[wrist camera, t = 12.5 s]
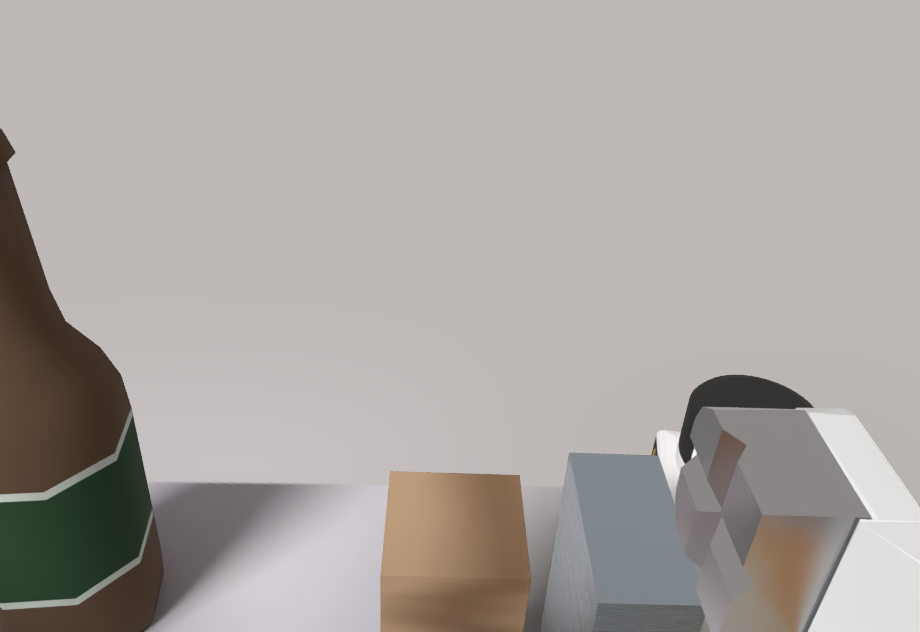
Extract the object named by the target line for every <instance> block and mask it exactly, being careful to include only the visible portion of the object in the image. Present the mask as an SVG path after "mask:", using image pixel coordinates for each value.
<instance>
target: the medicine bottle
mask: <svg viewBox="0 0 920 632" xmlns="http://www.w3.org/2000/svg"><path fill="white" fill-rule="evenodd" d="M702 407H732V408H769V409H796V408H814V407H813V406H812V405H811V404H810V403H809V402H808V401H807V400H805V399H804V398H803V397H802V396H800V395H799V394H797V393H796V392H794V391H792V390H791V389H789V388H787V387H785V386H783V385H780V384H778V383H775V382H773V381H770V380H767V379H762V378H759V377H753V376H747V375H726V376H719V377H716V378H713V379H711V380H708V381H706V382H704V383H702V384H701V385H699V386H698V387H697V388H696V389H694V391H693V392H692V394H691V396H690V399H689V403H688V406H687V411H686V414H685V419H684V422H683V426H682V430H681V432H677V431H669V430H660V431H658V433H657V435H656V439H655V443H654V447H653V451H652V455H655V456H659V459H660V462H661V465H662V467H663V470H664V473H665V476H666V479H667V482H668V485H669V488H670V491H671V494H672V497H673V500H674V503H675V494H676V487H677V483H678V479H679V474H680V470H681V467H682V466H684V465H685V464H686V463H687V462H688V461H690V460H691V459H692V458H693V457H694V456H696V455H697V453H696V450H695V448H694V445H693V443H692V440H691V438H690V434H691V431H692V427H693V424H694V421H695V417H696V416H697V414H698V413H699V411H700V410H701V408H702ZM695 566H696V569H697V572H698V575H699V577H700V574H701V571H702V569H701V568H700V567H698V566H697V565H696V564H695ZM700 632H710V629H709V626H708V623H707V621H706V618H705V619H704V622H703V625H702V628H701V631H700Z"/></svg>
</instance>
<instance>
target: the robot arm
mask: <svg viewBox="0 0 920 632" xmlns="http://www.w3.org/2000/svg"><path fill="white" fill-rule="evenodd" d="M690 438H691V440H692V443H693V445H694V448H695V450H696V453H697V455H696V456H694V457H693V458H692V459H691V460H690V461H688V462H687V463H686V464H685V465H684V466H682V467H681V470H680V474H679V479H678V483H677V487H676V494H675V518H676V525H677V531H678V536H679V539H680V542H681V545H682V549H683V552H684V554H685V555H686V556H687V557H688V558H689V559H690V560H692V561H693V562H694V563H695V564H696V565H697V566H698V567H700V568H701V569H702V571H701V574H700V577H699V581H698V584H697V587H696V591H697V594H698V597H699V600H700V603H701V606H702V609H703V612H704V615H705V618H706V621H707V623H708V626H709V629H710V632H920V507H919V505H918V504H917V502H916V501H915V499H914V498H913V497H912V495H911V494H910V492H909V491H908V490H907V488H906V487H905V485H904V484H903V482H902V481H901V480H900V478H899V477H898V475H897V474H896V473H895V471H894V470H893V468H892V467H891V465H890V464H889V462H888V461H887V460H886V458H885V457H884V455H883V454H882V453H881V451H880V450H879V448H878V447H877V445H876V444H875V443H874V441H873V440H872V438H871V437H870V435H869V434H868V433H867V431H866V430H865V428H864V427H863V426H862V424H861V423H860V421H859V420H858V418H857V417H856V416H855V415H854V414H853V413H851V412H849V411H848V410H846V409H844V408H796V409H769V408H732V407H702V408H701V410H700V411H699V413H698V414H697V416H696V417H695V421H694V424H693V427H692V431H691V434H690Z"/></svg>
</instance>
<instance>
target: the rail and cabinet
mask: <svg viewBox="0 0 920 632" xmlns="http://www.w3.org/2000/svg"><path fill="white" fill-rule="evenodd" d="M698 581H699V575H698V572H697V569H696V566H695V563H694V562H693V561H692V560H690V559H689V558H688V557H687V556H686V555H685V554H684V552H683V549H682V545H681V542H680V539H679V536H678V531H677V525H676V518H675V503H674V500H673V497H672V494H671V491H670V488H669V485H668V482H667V479H666V476H665V473H664V470H663V467H662V465H661V462H660V459H659V456H655V455H624V454H591V453H590V454H589V453H569V458H568V464H567V470H566V476H565V482H564V488H563V494H562V500H561V506H560V512H559V519H558V525H557V531H556V537H555V543H554V549H553V555H552V561H551V567H550V574H549V580H548V586H547V592H546V598H545V604H544V610H543V616H542V622H541V629H540V632H700V631H701V628H702V625H703V622H704V619H705V615H704V612H703V609H702V606H701V603H700V600H699V597H698V594H697V591H696V587H697V584H698Z"/></svg>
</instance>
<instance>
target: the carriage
mask: <svg viewBox="0 0 920 632" xmlns="http://www.w3.org/2000/svg"><path fill="white" fill-rule="evenodd" d="M530 582H531V576H530V566H529V557H528V548H527V539H526V530H525V521H524V512H523V502H522V493H521V484H520V476H519V475H494V474H463V473H462V474H461V473H429V472H398V471H396V472H395V471H394V472H393V471H391V472H390V479H389V490H388V501H387V512H386V523H385V534H384V544H383V555H382V566H381V632H523V630H524V623H525V617H526V610H527V603H528V596H529V589H530Z"/></svg>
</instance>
